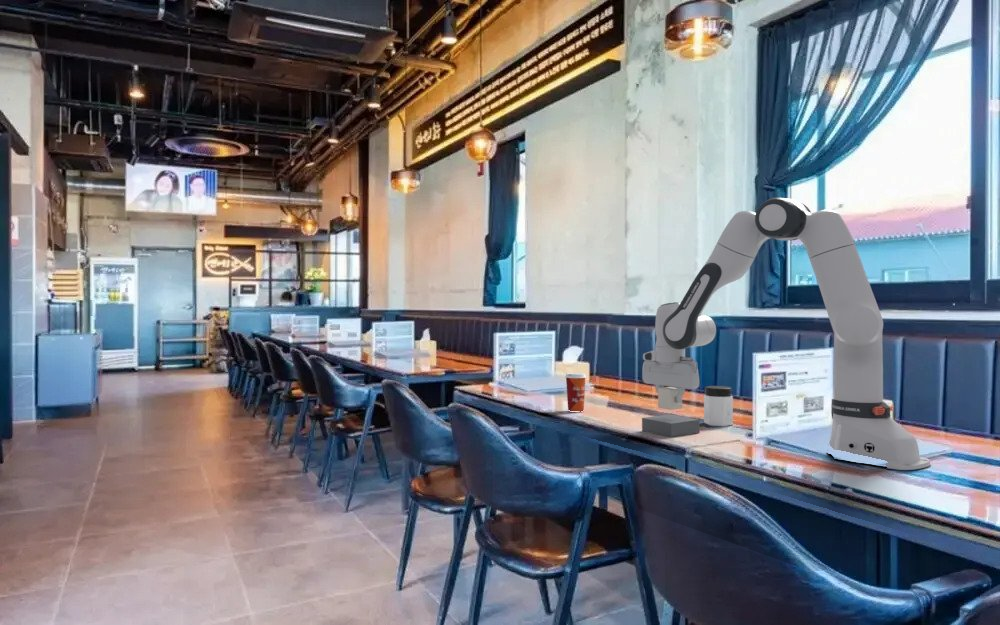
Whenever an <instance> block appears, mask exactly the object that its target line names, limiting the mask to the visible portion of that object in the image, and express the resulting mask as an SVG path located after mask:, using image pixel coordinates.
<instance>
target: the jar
mask: <svg viewBox="0 0 1000 625" xmlns="http://www.w3.org/2000/svg"><path fill="white" fill-rule="evenodd" d="M704 390H705V392H704V394H703V423H704V424H705V425H707V426H710V427H711V426H713V427H728V425H730V426H733V424H734V414H733V413H734V396H733V395H732V393H733V392H732V391H733V390H732V387H731V386H726V385H708V386H705V387H704Z"/></svg>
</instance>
